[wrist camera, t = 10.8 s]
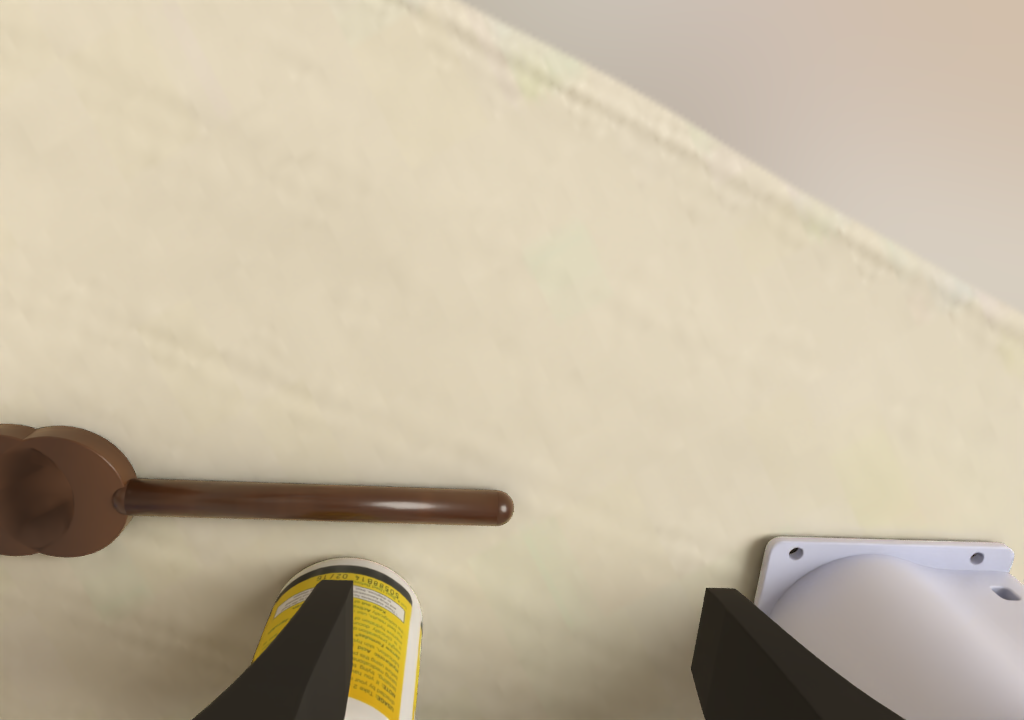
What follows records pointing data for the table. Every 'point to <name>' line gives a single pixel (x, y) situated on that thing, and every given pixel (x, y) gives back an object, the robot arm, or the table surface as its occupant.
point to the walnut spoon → (182, 496)
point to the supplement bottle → (366, 634)
